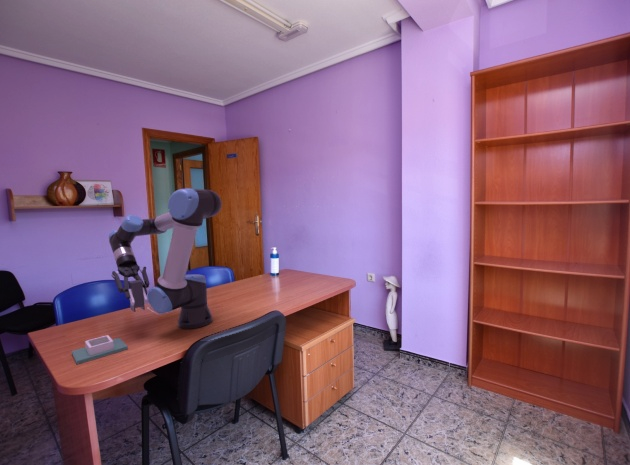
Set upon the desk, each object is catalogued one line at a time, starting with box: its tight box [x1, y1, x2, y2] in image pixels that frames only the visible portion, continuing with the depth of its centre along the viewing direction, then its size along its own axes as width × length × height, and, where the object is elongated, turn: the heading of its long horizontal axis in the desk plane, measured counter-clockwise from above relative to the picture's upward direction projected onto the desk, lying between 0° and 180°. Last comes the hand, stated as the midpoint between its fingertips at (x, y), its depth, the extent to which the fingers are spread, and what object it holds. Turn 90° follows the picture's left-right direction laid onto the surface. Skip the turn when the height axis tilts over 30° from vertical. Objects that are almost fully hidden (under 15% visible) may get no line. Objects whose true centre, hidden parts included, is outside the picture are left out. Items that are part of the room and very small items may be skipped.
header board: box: [71, 334, 129, 365], centre depth 121 cm, size 16×12×4 cm
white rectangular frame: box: [146, 306, 180, 316], centre depth 172 cm, size 11×1×18 cm
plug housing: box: [128, 279, 145, 313], centre depth 133 cm, size 4×5×12 cm
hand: (139, 302), depth 130 cm, fingers closed on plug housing, 4 cm apart
